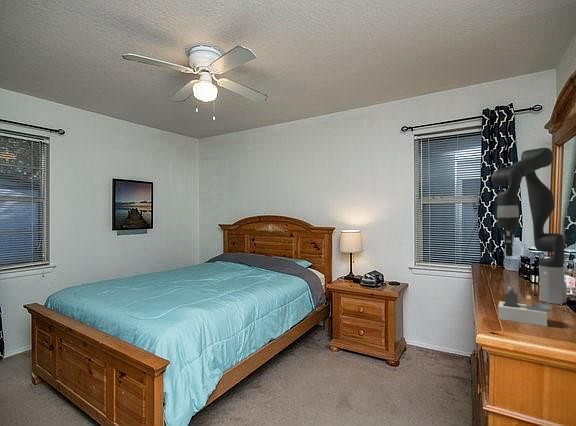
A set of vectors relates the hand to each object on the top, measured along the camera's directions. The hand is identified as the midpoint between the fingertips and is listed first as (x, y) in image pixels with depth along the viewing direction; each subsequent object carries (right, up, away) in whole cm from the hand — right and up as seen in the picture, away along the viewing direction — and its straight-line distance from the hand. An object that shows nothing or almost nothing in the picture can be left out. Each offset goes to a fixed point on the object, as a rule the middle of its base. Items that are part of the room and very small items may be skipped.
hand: (509, 254), depth 130 cm
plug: (-2, -25, -4) cm, 26 cm away
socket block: (+1, -25, -6) cm, 26 cm away
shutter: (+5, -20, -9) cm, 22 cm away
